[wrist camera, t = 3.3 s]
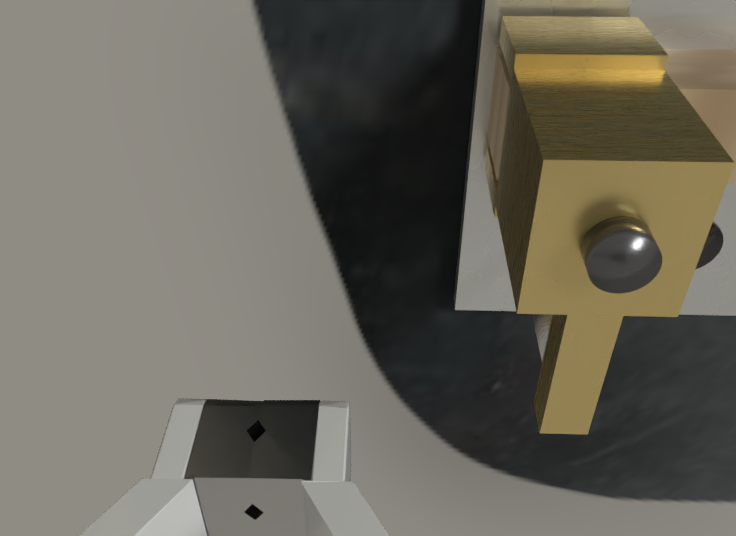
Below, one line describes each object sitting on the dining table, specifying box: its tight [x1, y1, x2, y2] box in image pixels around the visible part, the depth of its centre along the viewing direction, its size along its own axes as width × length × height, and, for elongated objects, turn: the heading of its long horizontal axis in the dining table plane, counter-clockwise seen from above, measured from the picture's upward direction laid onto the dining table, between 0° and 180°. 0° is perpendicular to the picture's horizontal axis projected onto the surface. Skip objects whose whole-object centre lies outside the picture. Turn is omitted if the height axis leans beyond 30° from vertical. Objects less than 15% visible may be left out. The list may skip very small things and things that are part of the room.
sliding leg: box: [485, 16, 735, 434], centre depth 20 cm, size 4×10×9 cm, turn 0°
